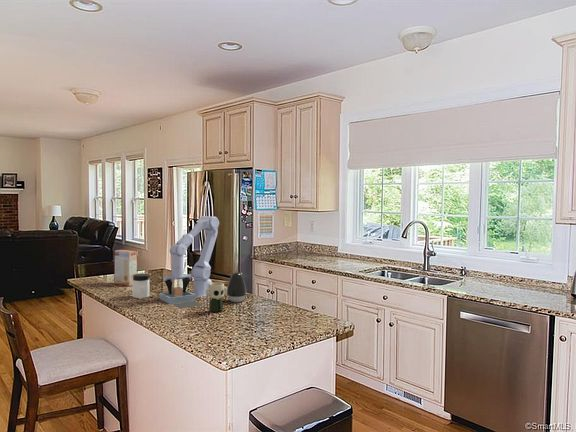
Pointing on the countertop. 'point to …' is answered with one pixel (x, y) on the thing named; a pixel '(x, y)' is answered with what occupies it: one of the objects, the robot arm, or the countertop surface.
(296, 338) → the countertop surface
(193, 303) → the mat
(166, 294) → the bin
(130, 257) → the cracker box
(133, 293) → the jar
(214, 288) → the character mug
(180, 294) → the block
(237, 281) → the dark grey dome figure
